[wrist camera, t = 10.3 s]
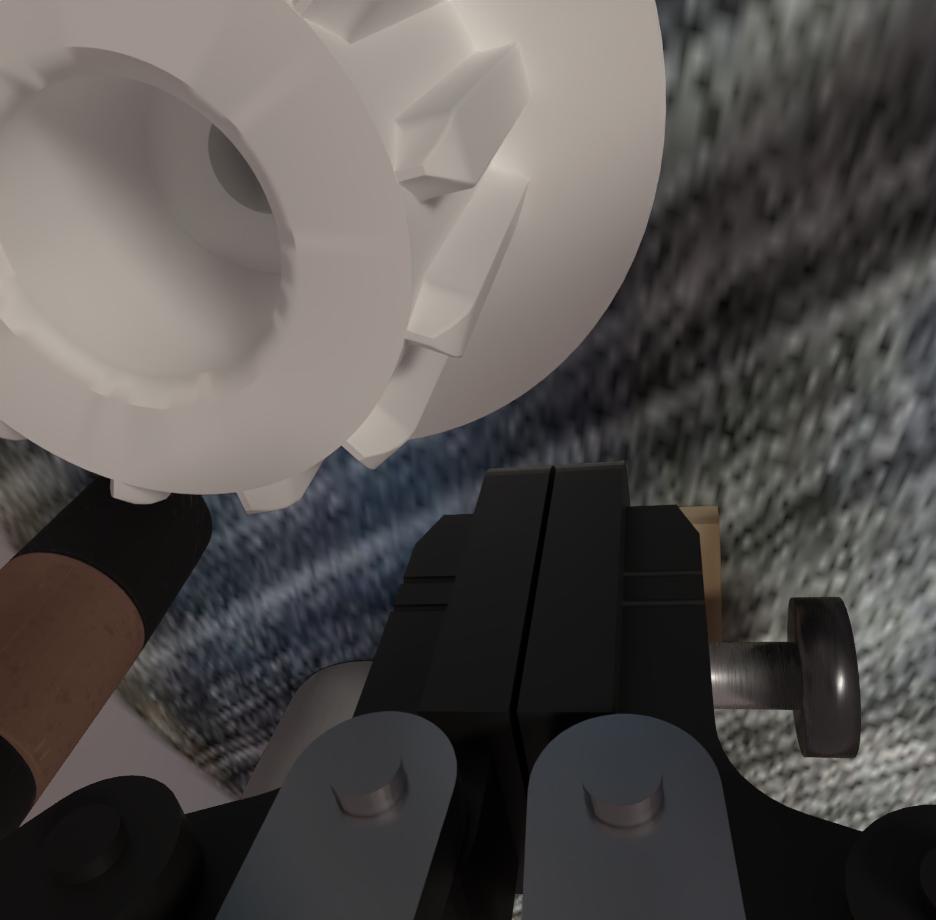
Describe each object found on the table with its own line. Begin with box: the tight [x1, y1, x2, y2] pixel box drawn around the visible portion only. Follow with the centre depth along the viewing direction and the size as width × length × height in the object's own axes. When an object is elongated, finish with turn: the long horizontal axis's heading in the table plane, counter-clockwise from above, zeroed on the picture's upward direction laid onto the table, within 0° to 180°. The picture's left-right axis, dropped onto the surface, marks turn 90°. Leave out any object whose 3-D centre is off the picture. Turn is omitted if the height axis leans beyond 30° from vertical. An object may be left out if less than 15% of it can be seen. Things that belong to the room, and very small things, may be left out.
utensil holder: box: [240, 661, 373, 800], centre depth 50 cm, size 15×15×18 cm
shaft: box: [708, 597, 861, 758], centre depth 41 cm, size 18×7×7 cm, turn 99°
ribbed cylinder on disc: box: [0, 0, 666, 514], centre depth 28 cm, size 25×25×19 cm
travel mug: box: [0, 475, 212, 840], centre depth 42 cm, size 8×8×20 cm
